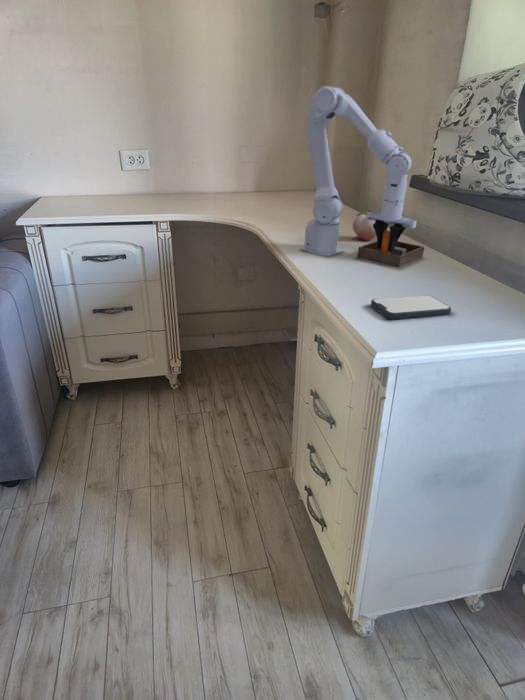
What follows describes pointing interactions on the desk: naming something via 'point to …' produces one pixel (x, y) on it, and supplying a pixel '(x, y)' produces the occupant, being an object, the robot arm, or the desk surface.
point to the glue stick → (385, 242)
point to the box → (375, 255)
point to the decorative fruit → (364, 227)
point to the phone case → (410, 307)
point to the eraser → (398, 251)
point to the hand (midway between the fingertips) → (385, 249)
